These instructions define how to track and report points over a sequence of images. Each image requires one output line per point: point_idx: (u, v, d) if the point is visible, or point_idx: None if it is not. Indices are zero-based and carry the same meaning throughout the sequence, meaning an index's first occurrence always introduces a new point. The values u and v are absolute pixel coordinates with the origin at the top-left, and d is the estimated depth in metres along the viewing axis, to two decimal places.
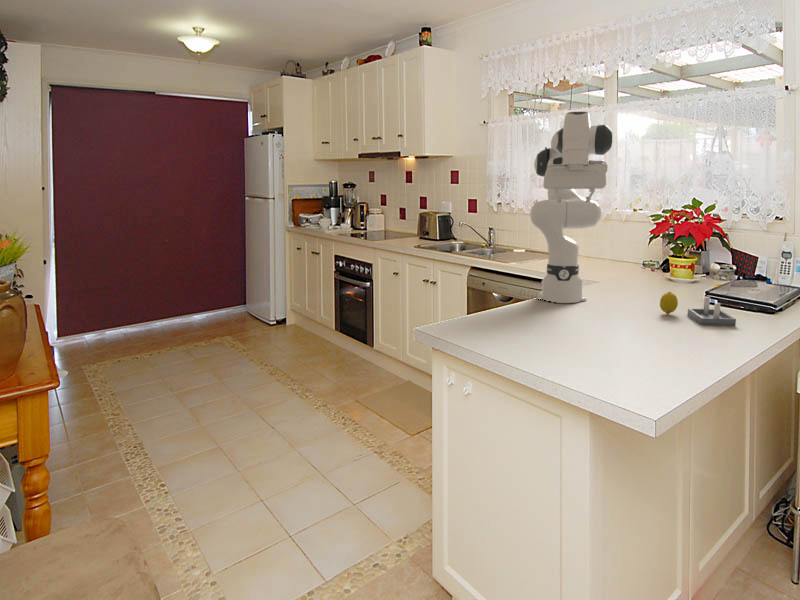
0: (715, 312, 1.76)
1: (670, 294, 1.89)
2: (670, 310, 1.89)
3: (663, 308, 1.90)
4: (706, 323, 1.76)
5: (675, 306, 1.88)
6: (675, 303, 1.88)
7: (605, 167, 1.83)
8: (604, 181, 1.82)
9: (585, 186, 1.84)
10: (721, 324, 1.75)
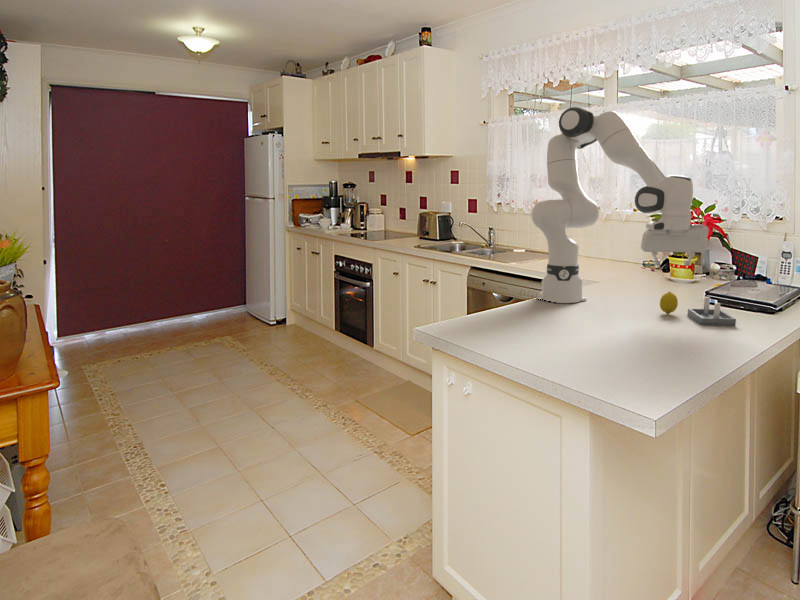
0: (715, 312, 1.76)
1: (670, 294, 1.89)
2: (670, 310, 1.89)
3: (663, 308, 1.90)
4: (706, 323, 1.76)
5: (675, 306, 1.88)
6: (675, 303, 1.88)
7: (706, 231, 1.83)
8: (705, 246, 1.83)
9: (685, 250, 1.84)
10: (721, 324, 1.75)
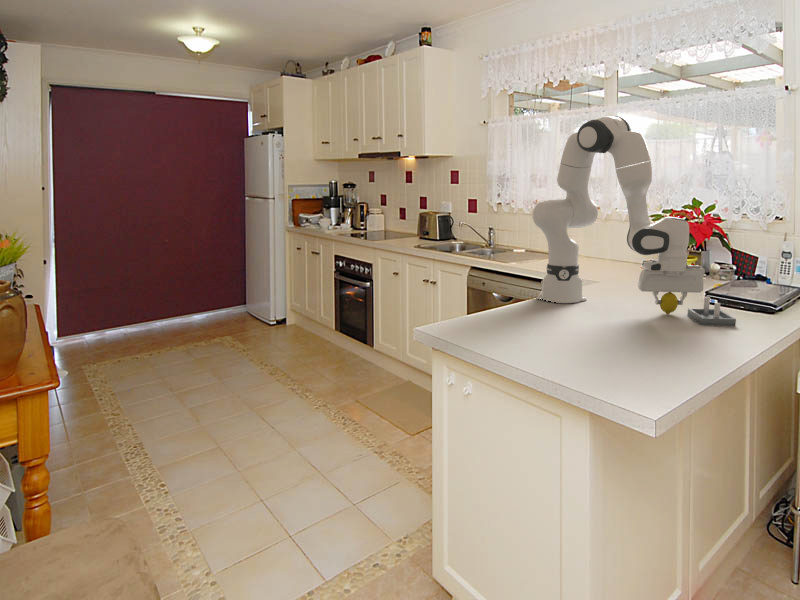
0: (715, 312, 1.76)
1: (670, 294, 1.89)
2: (670, 310, 1.89)
3: (663, 308, 1.90)
4: (706, 323, 1.76)
5: (675, 306, 1.88)
6: (675, 303, 1.88)
7: (702, 272, 1.86)
8: (701, 286, 1.86)
9: (682, 291, 1.87)
10: (721, 324, 1.75)
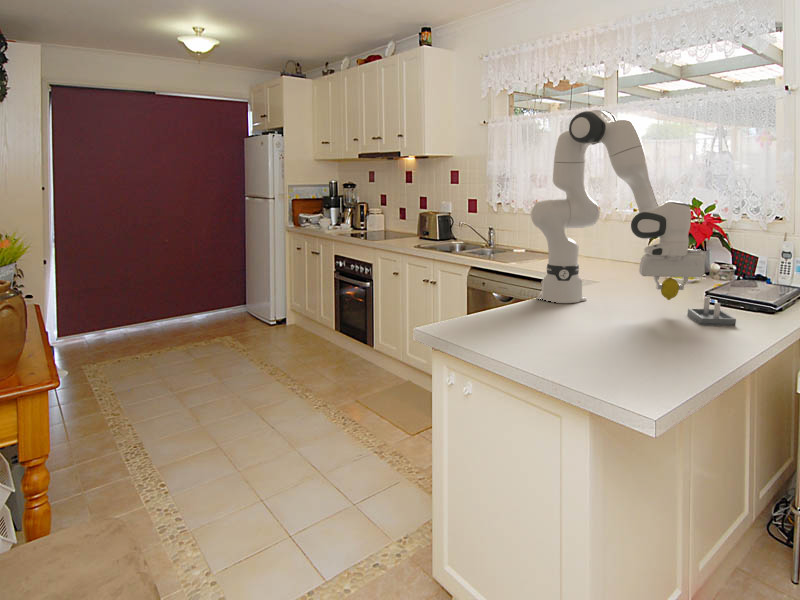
0: (715, 312, 1.76)
1: (671, 279, 1.88)
2: (671, 296, 1.88)
3: (664, 294, 1.89)
4: (706, 323, 1.76)
5: (676, 291, 1.88)
6: (676, 288, 1.88)
7: (704, 257, 1.85)
8: (703, 271, 1.85)
9: (683, 275, 1.87)
10: (721, 324, 1.75)
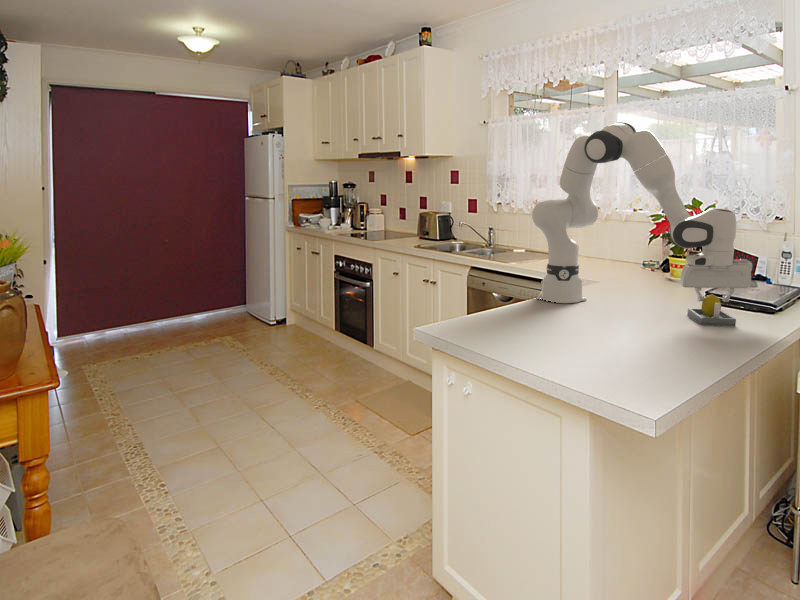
0: (715, 312, 1.76)
1: (712, 297, 1.78)
2: (713, 314, 1.79)
3: (705, 312, 1.80)
4: (706, 323, 1.76)
5: None
6: None
7: (750, 267, 1.75)
8: (749, 282, 1.75)
9: (728, 286, 1.77)
10: (721, 324, 1.75)
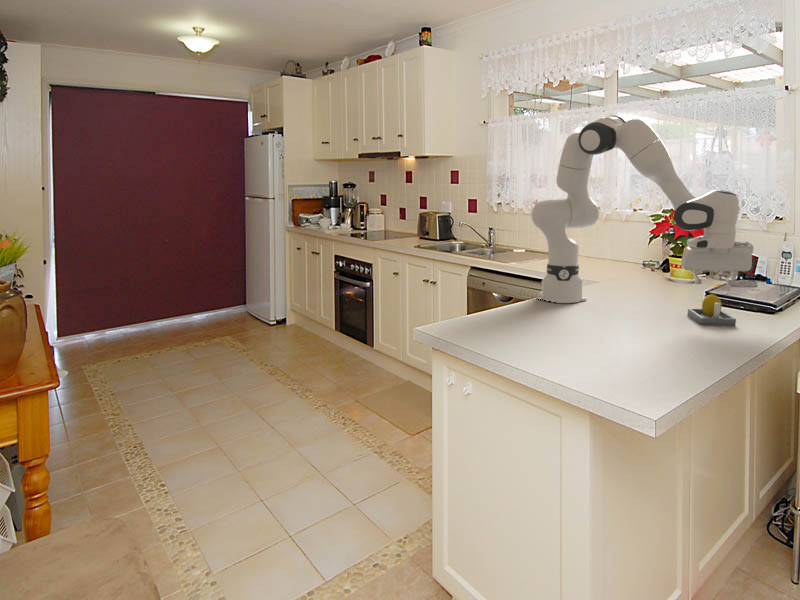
0: (715, 312, 1.76)
1: (713, 296, 1.79)
2: (713, 313, 1.79)
3: (706, 311, 1.80)
4: (706, 323, 1.76)
5: None
6: None
7: (751, 249, 1.75)
8: (750, 265, 1.75)
9: (729, 269, 1.77)
10: (721, 324, 1.75)
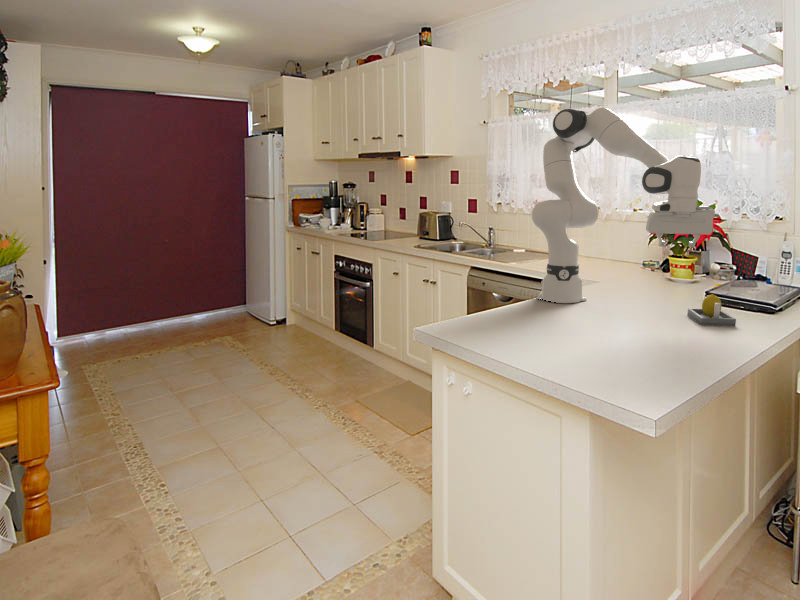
0: (715, 312, 1.76)
1: (713, 297, 1.79)
2: (713, 313, 1.79)
3: (706, 311, 1.80)
4: (706, 323, 1.76)
5: None
6: None
7: (712, 213, 1.82)
8: (711, 228, 1.82)
9: (690, 232, 1.84)
10: (721, 324, 1.75)
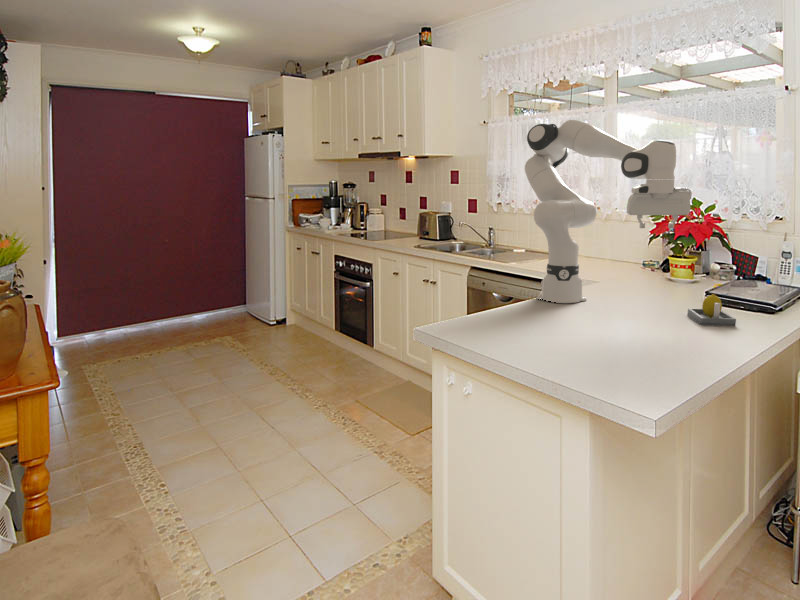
0: (715, 312, 1.76)
1: (714, 297, 1.79)
2: None
3: (706, 311, 1.80)
4: (706, 323, 1.76)
5: None
6: None
7: (689, 194, 1.89)
8: (688, 209, 1.89)
9: (669, 213, 1.91)
10: (721, 324, 1.75)
